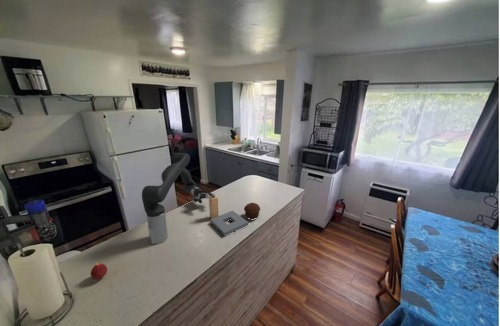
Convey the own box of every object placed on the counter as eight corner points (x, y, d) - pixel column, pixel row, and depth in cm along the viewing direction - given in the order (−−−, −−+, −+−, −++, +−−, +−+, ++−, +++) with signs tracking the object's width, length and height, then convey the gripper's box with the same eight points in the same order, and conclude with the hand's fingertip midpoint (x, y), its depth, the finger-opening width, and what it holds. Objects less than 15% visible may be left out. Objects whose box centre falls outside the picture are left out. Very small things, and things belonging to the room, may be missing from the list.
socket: (224, 237, 115) (224, 232, 114) (210, 223, 128) (210, 219, 127) (248, 226, 125) (248, 222, 125) (232, 214, 139) (232, 210, 138)
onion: (111, 272, 89) (108, 258, 87) (102, 283, 84) (99, 268, 81) (98, 272, 89) (95, 258, 87) (89, 283, 83) (85, 268, 81)
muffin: (250, 223, 128) (250, 210, 125) (240, 216, 136) (240, 203, 134) (263, 217, 136) (263, 204, 133) (253, 210, 144) (253, 198, 141)
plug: (212, 220, 131) (211, 197, 126) (209, 217, 134) (208, 194, 129) (218, 218, 134) (217, 195, 129) (215, 215, 137) (214, 193, 132)
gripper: (188, 190, 145) (197, 198, 133) (205, 186, 154) (215, 193, 142) (189, 199, 147) (198, 208, 135) (206, 194, 156) (215, 202, 144)
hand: (207, 200), depth 139 cm, fingers open, 8 cm apart
